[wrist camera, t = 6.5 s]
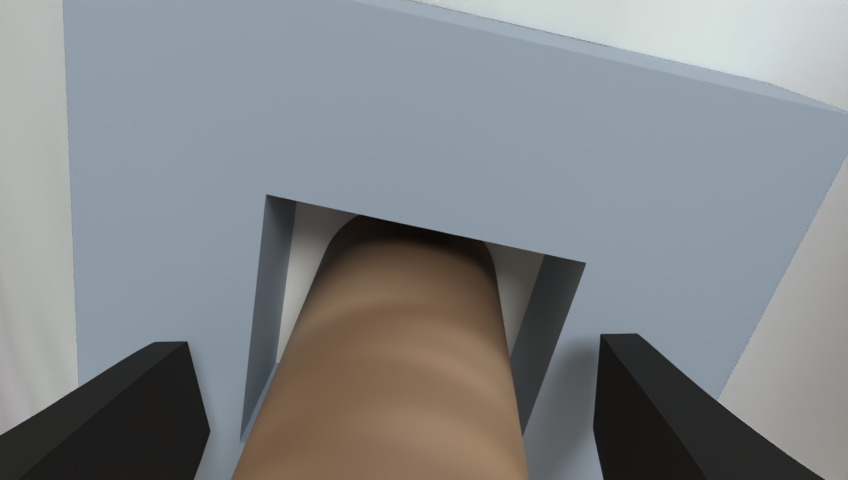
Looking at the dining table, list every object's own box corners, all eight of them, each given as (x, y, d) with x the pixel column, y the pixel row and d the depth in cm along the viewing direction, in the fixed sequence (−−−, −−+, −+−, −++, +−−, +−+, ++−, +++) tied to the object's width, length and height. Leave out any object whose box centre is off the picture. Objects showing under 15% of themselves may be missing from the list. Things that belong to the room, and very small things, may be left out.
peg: (498, 201, 13) (570, 530, 5) (494, 357, 14) (544, 767, 7) (310, 204, 13) (131, 527, 5) (328, 358, 14) (210, 760, 7)
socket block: (769, 83, 12) (866, 118, 9) (576, 512, 17) (601, 619, 14) (157, -59, 11) (59, -67, 8) (146, 428, 16) (83, 522, 13)
